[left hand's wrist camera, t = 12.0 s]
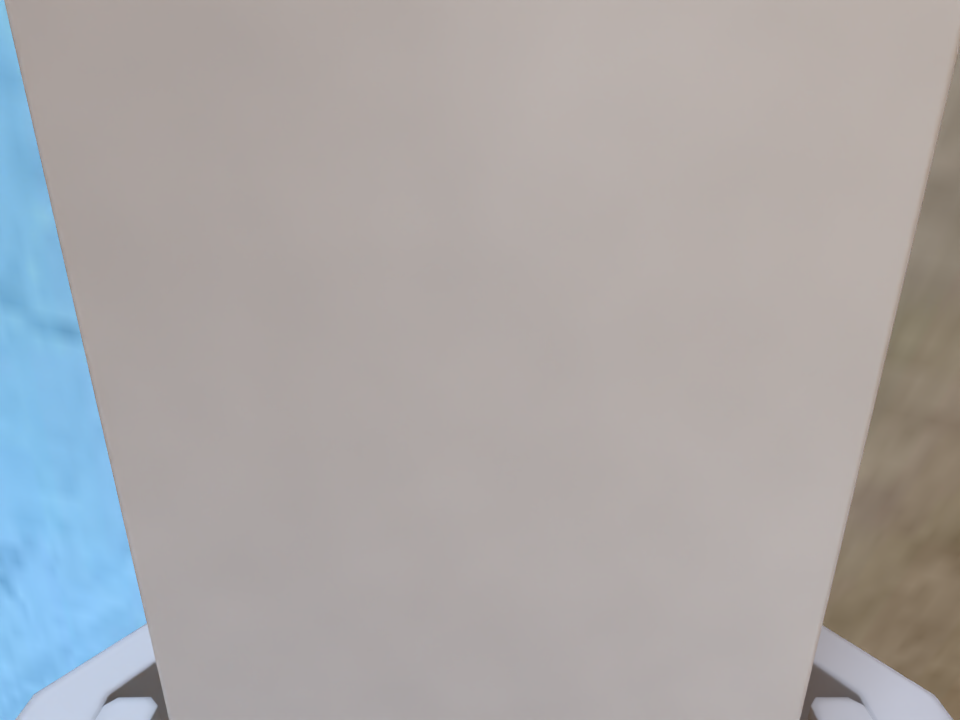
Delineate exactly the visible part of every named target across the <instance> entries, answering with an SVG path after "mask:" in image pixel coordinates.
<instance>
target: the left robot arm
mask: <svg viewBox="0 0 960 720" xmlns="http://www.w3.org/2000/svg"><path fill="white" fill-rule="evenodd" d="M15 720H169V717H168V712H167V708H166V704H165V699H164V695H163V691H162V686H161V682H160V678H159V673H158V669H157V664H156V660H155V656H154V651H153V647H152V643H151V638H150V634H149V629H148V625H147V624H145V625H144V626H142V627H140V628H139V629H137V630H136V631H134V632H132V633H131V634H129V635H128V636H126V637H124V638H123V639H121V640H120V641H118V642H117V643H115V644H113V645H112V646H110V647H109V648H107V649H105V650H104V651H102V652H101V653H99V654H97V655H96V656H94V657H93V658H91V659H89V660H88V661H86V662H85V663H83V664H82V665H80V666H78V667H77V668H75V669H74V670H72V671H70V672H69V673H67V674H66V675H64V676H62V677H61V678H59V679H58V680H56V681H54V682H53V683H51V684H50V685H48V686H47V687H45V688H43V689H42V690H40V691H39V692H37V693H35V694H34V695H33V697H32V698H31V699H30V701H29V702H28V703H27V705H26V706H25V707H24V709H23V710H22V711H21V713H20V714H19V715H18V717H17V718H16V719H15ZM800 720H953V719H952V718H951V716H950V715H949V714H948V712H947V711H946V710H945V708H944V707H943V706H942V704H941V703H940V702H939V700H938V699H937V698H936V696H935V695H933V694H932V693H930V692H929V691H927V690H925V689H924V688H922V687H921V686H919V685H917V684H916V683H914V682H913V681H911V680H909V679H908V678H906V677H905V676H903V675H901V674H900V673H898V672H897V671H895V670H893V669H892V668H890V667H889V666H887V665H885V664H884V663H882V662H881V661H879V660H877V659H876V658H874V657H873V656H871V655H869V654H868V653H866V652H865V651H863V650H861V649H860V648H858V647H857V646H855V645H853V644H852V643H850V642H849V641H847V640H845V639H844V638H842V637H841V636H839V635H837V634H836V633H834V632H833V631H831V630H829V629H828V628H826V627H825V626H823V625H822V628H821V633H820V637H819V641H818V645H817V649H816V654H815V658H814V662H813V666H812V671H811V675H810V679H809V683H808V687H807V692H806V696H805V700H804V704H803V709H802V713H801V717H800Z"/></svg>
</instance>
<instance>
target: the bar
mask: <svg viewBox="0 0 960 720" xmlns="http://www.w3.org/2000/svg"><path fill="white" fill-rule="evenodd" d="M4 1H5V5H6V10H7V14H8V18H9V23H10V27H11V31H12V36H13V40H14V45H15V49H16V53H17V58H18V62H19V66H20V71H21V75H22V80H23V84H24V88H25V93H26V97H27V101H28V106H29V110H30V114H31V119H32V123H33V128H34V132H35V136H36V141H37V145H38V149H39V154H40V158H41V162H42V167H43V171H44V176H45V180H46V184H47V189H48V193H49V197H50V202H51V206H52V210H53V215H54V219H55V224H56V228H57V232H58V237H59V241H60V245H61V250H62V254H63V258H64V263H65V267H66V272H67V276H68V280H69V285H70V289H71V293H72V298H73V302H74V306H75V311H76V315H77V320H78V324H79V328H80V333H81V337H82V341H83V346H84V350H85V355H86V359H87V363H88V368H89V372H90V376H91V381H92V385H93V389H94V394H95V398H96V403H97V407H98V411H99V416H100V420H101V424H102V429H103V433H104V437H105V442H106V446H107V451H108V455H109V459H110V464H111V468H112V472H113V477H114V481H115V485H116V490H117V494H118V499H119V503H120V507H121V512H122V516H123V520H124V525H125V529H126V533H127V538H128V542H129V547H130V551H131V555H132V560H133V564H134V568H135V573H136V577H137V581H138V586H139V590H140V595H141V599H142V603H143V608H144V612H145V616H146V621H147V625H148V629H149V634H150V638H151V643H152V647H153V651H154V656H155V660H156V664H157V669H158V673H159V678H160V682H161V686H162V691H163V695H164V699H165V704H166V708H167V712H168V717H169V720H800V717H801V713H802V709H803V704H804V700H805V696H806V692H807V687H808V683H809V679H810V675H811V671H812V666H813V662H814V658H815V654H816V649H817V645H818V641H819V637H820V633H821V628H822V624H823V620H824V616H825V611H826V607H827V603H828V599H829V595H830V590H831V586H832V582H833V578H834V574H835V569H836V565H837V561H838V557H839V552H840V548H841V544H842V540H843V536H844V531H845V527H846V523H847V519H848V514H849V510H850V506H851V502H852V498H853V493H854V489H855V485H856V481H857V476H858V472H859V468H860V464H861V460H862V455H863V451H864V447H865V443H866V439H867V434H868V430H869V426H870V422H871V417H872V413H873V409H874V405H875V401H876V396H877V392H878V388H879V384H880V379H881V375H882V371H883V367H884V363H885V358H886V354H887V350H888V346H889V341H890V337H891V333H892V329H893V325H894V320H895V316H896V312H897V308H898V304H899V299H900V295H901V291H902V287H903V282H904V278H905V274H906V270H907V266H908V261H909V257H910V253H911V249H912V244H913V240H914V236H915V232H916V228H917V223H918V219H919V215H920V211H921V206H922V202H923V198H924V194H925V190H926V185H927V181H928V177H929V173H930V169H931V164H932V160H933V156H934V152H935V147H936V143H937V139H938V135H939V131H940V126H941V122H942V118H943V114H944V109H945V105H946V101H947V97H948V93H949V88H950V84H951V80H952V76H953V71H954V67H955V63H956V59H957V55H958V50H959V46H960V0H4Z"/></svg>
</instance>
